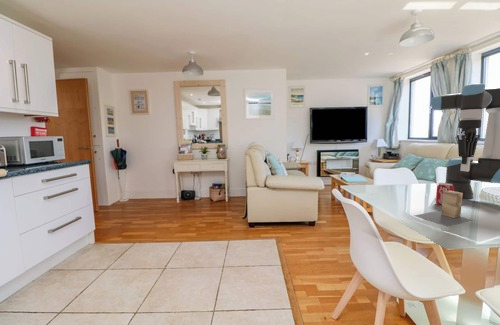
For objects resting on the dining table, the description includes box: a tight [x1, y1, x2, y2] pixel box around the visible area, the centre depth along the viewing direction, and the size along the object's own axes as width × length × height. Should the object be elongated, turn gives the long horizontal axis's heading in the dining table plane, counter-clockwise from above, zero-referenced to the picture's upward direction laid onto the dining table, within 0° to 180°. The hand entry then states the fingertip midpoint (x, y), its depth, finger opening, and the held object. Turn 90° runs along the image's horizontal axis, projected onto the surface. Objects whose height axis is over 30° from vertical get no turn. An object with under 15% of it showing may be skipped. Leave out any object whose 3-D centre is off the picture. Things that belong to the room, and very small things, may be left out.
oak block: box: [441, 191, 463, 219], centre depth 110 cm, size 5×5×11 cm
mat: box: [413, 210, 473, 227], centre depth 108 cm, size 18×14×1 cm
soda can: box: [435, 182, 454, 207], centre depth 127 cm, size 7×7×12 cm
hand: (464, 170), depth 111 cm, fingers closed
